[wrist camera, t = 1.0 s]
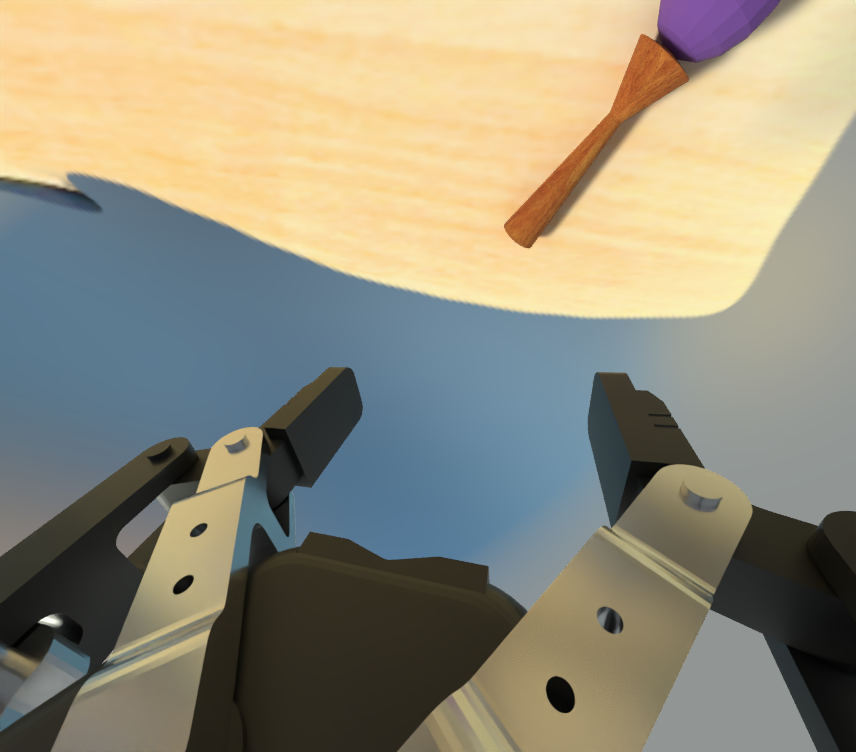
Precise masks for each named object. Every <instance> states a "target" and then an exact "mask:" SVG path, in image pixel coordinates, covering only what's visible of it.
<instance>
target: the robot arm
mask: <svg viewBox="0 0 856 752" xmlns="http://www.w3.org/2000/svg"><path fill="white" fill-rule="evenodd" d="M362 409H363V406H362V401H361V397H360V393H359V390H358V386H357V383H356V379H355V376H354V373H353V371H352V369H351V368H347V367H346V368H345V367H341V368H340V367H330V368H328V369H327V370H325V371H324V372H323V373H322V374H321V375H320V376H319V377H318V378H317V379H316V380H315V381H314V382H312V383H310V384H309V385H307V386H305V387H303V388H302V389H301V390H300V391H299V392H298V393H297V394H296V395H295V397H293V398H291V399H290V400H289V401H288V402H287V405H284V406H282V408H280V409H279V410H278V411H277V412H276V413H275V414H274V415H273V416H271V418H269V419H268V420H267V421H266V422H265V423H264V424H263V425H262V426H260V427H259V428H256V427H248V428H243V429H239V430H236V431H234V432H232V433H230V434H228V435H226V436H224V437H223V438H221V439H220V440H219V441H217V442H216V443H215V444H214V445H213V447H212V448H210V449H204V450H198V451H195V450H194V448H193V447H192V445H191V443H190V442H189V440H188V439H186V438H182V437H181V438H180V437H179V438H173V439H169V440H166V441H163V442H160V443H158V444H156V445H154V446H152V447H150V448H149V449H147V450H145V451H144V452H142V453H141V454H140V455H138V456H137V457H136V458H134V459H133V460H132V461H130V462H129V463H128V464H126V465H125V466H124V467H122V468H121V469H119V470H118V471H117V472H115V473H114V474H112V475H111V476H110V477H108V478H107V479H106V480H104V481H103V482H102V483H100V484H99V485H98V486H96V487H95V488H94V489H92V490H91V491H89V492H88V493H87V494H85V495H84V496H83V497H81V498H80V499H78V500H77V501H76V502H75V503H73V504H72V505H70V506H69V507H68V508H66V509H65V510H63V511H62V512H61V513H60V514H58V515H57V516H55V517H54V518H53V519H51V520H50V521H48V522H47V523H46V524H44V525H43V526H42V527H41V528H39V529H38V530H36V531H35V532H33V533H32V534H31V535H29V536H28V537H27V538H25V539H24V540H23V541H22V542H20V543H19V544H17V545H16V546H15V547H13V548H12V549H10V550H9V551H8V552H6V553H5V554H4V555H2V556H1V557H0V752H641V751H642V749H643V747H644V745H645V743H646V741H647V739H648V737H649V735H650V733H651V731H652V728H653V726H654V724H655V722H656V720H657V718H658V716H659V714H660V712H661V710H662V707H663V705H664V703H665V701H666V699H667V697H668V695H669V693H670V691H671V689H672V687H673V684H674V682H675V680H676V678H677V676H678V674H679V672H680V670H681V668H682V666H683V663H684V661H685V659H686V657H687V655H688V653H689V651H690V649H691V647H692V644H693V642H694V640H695V638H696V636H697V634H698V632H699V630H700V628H701V625H702V624H703V622H704V620H705V617H706V615H707V613H708V611H709V609H710V610H713V611H715V612H717V613H719V614H721V615H724V616H726V617H728V618H730V619H732V620H734V621H736V622H739V623H741V624H743V625H745V626H747V627H749V628H752V629H754V630H756V631H758V632H761V633H763V635H764V637H765V640H766V642H767V644H768V646H769V648H770V650H771V652H772V654H773V657H774V659H775V661H776V663H777V665H778V667H779V669H780V672H781V674H782V676H783V678H784V680H785V682H786V685H787V687H788V689H789V691H790V693H791V695H792V698H793V700H794V702H795V704H796V706H797V708H798V710H799V713H800V715H801V717H802V719H803V721H804V723H805V726H806V728H807V730H808V732H809V734H810V736H811V738H812V741H813V743H814V745H815V747H816V749H817V751H818V752H856V512H854V511H838V512H833V513H831V514H828V515H827V516H826V517H825V518H824V519H823V520H822V522H821V523H820V524H819V526H816V525H813V524H810V523H807V522H803V521H800V520H797V519H793V518H790V517H787V516H784V515H780V514H777V513H773V512H771V511H767V510H765V509H762V508H759V507H756V506H754V505H751V503H750V501H749V499H748V498H747V496H746V495H745V494H744V493H743V491H742V490H741V489H739V488H738V487H737V486H736V485H735V484H733V483H732V482H730V481H729V480H727V479H725V478H724V477H722V476H720V475H718V474H716V473H714V472H712V471H709V470H707V469H705V468H704V466H703V465H702V463H701V461H700V460H699V459H698V457H697V455H696V453H695V452H694V450H693V449H692V447H691V445H690V444H689V442H688V441H687V439H686V437H685V436H684V434H683V433H682V431H681V429H678V425H677V423H676V422H675V420H674V418H672V417H671V413H670V412H669V410H668V409H667V407H666V405H665V404H664V402H663V401H661V400H660V399H659V398H657V397H656V396H654V395H653V394H652V393H650V392H649V391H641V390H635V388H634V386H633V384H632V382H631V380H630V379H629V377H628V375H627V374H626V373H609V372H608V373H607V372H597V373H596V374H595V376H594V381H593V388H592V394H591V401H590V407H589V414H588V434H589V439H590V442H591V447H592V451H593V455H594V459H595V463H596V467H597V471H598V475H599V480H600V484H601V488H602V492H603V495H604V500H605V504H606V508H607V512H608V517H609V521H610V525H611V529H609V528H608V527H606V526H602V527H601V528H600V529H598V530H597V531H596V532H595V533H594V534H593V535H592V537H591V538H590V539H589V540H588V541H587V542H586V544H585V545H584V546H583V547H582V549H581V550H580V551H579V552H578V553H577V554H576V555H575V557H574V558H573V559H572V560H571V562H570V563H569V564H568V565H567V566H566V567H565V568H564V570H563V571H562V572H561V573H560V574H559V576H558V577H557V578H556V579H555V581H554V582H553V583H552V584H551V585H550V586H549V587H548V589H547V590H546V591H545V592H544V593H543V594H542V596H541V597H540V598H539V599H538V600H537V602H536V603H535V604H534V605H533V606H532V607H531V609H530V610H529V611H527V610H526V609H525V608H524V607H523V606H522V605H520V604H519V603H518V602H517V601H516V600H515V599H513V598H512V597H511V596H510V595H508V594H507V593H505V592H504V591H502V590H501V589H499V588H497V587H495V586H493V585H492V584H490V583H489V568H488V566H484V565H478V564H474V563H469V562H464V561H458V560H453V559H448V558H443V557H427V558H413V559H400V560H386V559H383V558H381V557H380V556H378V555H376V554H374V553H372V552H371V551H369V550H367V549H365V548H363V547H361V546H360V545H358V544H356V543H354V542H353V541H351V540H349V539H345V538H340V537H334V536H330V535H324V534H319V533H314V532H309V534H308V536H307V537H306V539H305V540H304V542H303V544H302V545H301V546H300V547H296V535H295V500H294V495H293V493H292V489H293V488H294V486H295V485H296V486H303V487H310V488H311V487H312V486H313V484H314V483H315V482H316V480H317V479H318V477H319V476H320V475H321V473H322V472H323V470H324V469H325V468H326V466H327V465H328V463H329V462H330V461H331V459H332V457H333V456H334V455H335V453H336V452H337V451H338V449H339V448H340V446H341V445H342V444H343V442H344V441H345V439H346V438H347V437H348V435H349V434H350V432H351V431H352V429H353V428H354V427H355V425H356V424H357V422H358V421H359V420H360V418H361V415H362ZM154 499H157V500H158V501H159V503H160V504H161V505H162V506H163V508H164V509H165V510H166V511H167V512H168V516H167V519H166V520H165V521H164V522H163V523H162V524H161V525H160V526H159V527H158V528H157V529H156V530H155V531H154V532H153V533H152V534H151V535H150V536H149V537H148V538H147V539H146V540H145V541H144V542H143V543H142V544H141V545H140V546H139V547H138V548H137V549H136V550H135V551H134V552H133V553H132V554H131V555H130V556H129V557H128V558H126V557H125V556H124V555H123V554H122V553H121V552H120V551H119V550H118V549H117V546H116V539H117V536H118V534H119V532H120V531H121V530H122V528H123V527H124V526H125V525H126V524H128V523H129V522H130V521H131V520H132V519H133V518H134V517H135V516H136V515H138V513H140V512H141V511H142V510H143V509H144V508H145V507H147V506H148V505H149V504H150V503H151V502H152V501H153V500H154ZM38 621H39V623H37V622H38ZM112 651H113V653H112V655H111V656H110V658H109V660H108V661H106V662H104V663H103V661H104V660H105V659H106V658H107V657H108V656H109V654H110V653H111V652H112ZM102 663H103V664H102Z"/></svg>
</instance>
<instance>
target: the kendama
mask: <svg viewBox="0 0 856 752" xmlns="http://www.w3.org/2000/svg"><path fill="white" fill-rule="evenodd" d="M779 1H780V0H661V2H660V9H659V16H658V23H657V26H658V31H659V35H660V38H661V42H662V45H661V44H659V43H658V42H656V41H654V40H653V39H651V38H649V37H648V36H646V35H644V34H641V35H640V38H639V40H638V43H637V45H636V48H635V51H634V53H633V56H632V58H631V61H630V63H629V66H628V68H627V71H626V73H625V76H624V78H623V81H622V83H621V86H620V88H619V91H618V93H617V96H616V98H615V101H614V103H613V106H612V108H611V111H610V113H609V114H608V115H607V116H606V117H605V118H604V119H603V120H602V121H601V122H600V124H599V125H598V126H597V127H596V128H595V129H594V130H593V131H592V132H591V133H590V134H589V135H588V136H587V137H586V138H585V139H584V141H583V142H582V143H581V144H580V145H579V146H578V147H577V148H576V149H575V150H574V151H573V152H572V153H571V154H570V155H569V156H568V157H567V159H566V160H565V161H564V162H563V163H562V164H561V165H560V166H559V167H558V168H557V169H556V170H555V171H554V172H553V173H552V174H551V176H550V177H549V178H548V179H547V180H546V181H545V182H544V183H543V184H542V185H541V186H540V187H539V188H538V189H537V190H536V191H535V192H534V194H533V195H532V196H531V197H530V198H529V199H528V200H527V201H526V202H525V203H524V204H523V205H522V206H521V207H520V208H519V209H518V211H517V212H516V213H515V214H514V215H513V216H512V217H511V218H510V219H509V220H508V221H507V222H506V223H505V224H504V228H505V230H506V232H507V234H508V235H509V236H510V237H511V238H512V239H513V240H514V241H515V242H516V243H518V244H519V245H520V246H522V247H525V248H530V247H532V245H533V244H534V242H535V241H536V240H537V238H538V237H539V235H540V234H541V233H542V231H543V230H544V229H545V227H546V226H547V224H548V223H549V222H550V220H551V219H552V218H553V216H554V215H555V213H556V212H557V211H558V209H559V208H560V206H561V205H562V204H563V202H564V201H565V200H566V198H567V197H568V195H569V194H570V193H571V191H572V190H573V188H574V187H575V186H576V184H577V183H578V182H579V180H580V179H581V177H582V176H583V175H584V173H585V172H586V171H587V169H588V168H589V166H590V165H591V164H592V162H593V161H594V159H595V158H596V157H597V155H598V154H599V153H600V151H601V150H602V148H603V147H604V146H605V144H606V143H607V142H608V140H609V139H610V137H611V136H612V135H613V133H614V132H615V130H616V129H617V128H618V126H619V125H620V124H621V123H622V122H623V121H625V120H626V119H628V118H630V117H631V116H633V115H634V114H636V113H638V112H639V111H641V110H643V109H644V108H646V107H647V106H649V105H651V104H652V103H654V102H655V101H657V100H659V99H660V98H662V97H663V96H665V95H667V94H668V93H670V92H671V91H673V90H675V89H676V88H678V87H680V86H681V85H683V84H684V83H686V82H688V80H689V78H688V76H687V74H686V73H685V71H684V70H683V68H682V67H681V65H680V63H679V62H678V60H684V61H689V62H695V63H696V62H700V61H703V60H707V59H710V58H714V57H717V56H720V55H722V54H723V53H725V52H726V51H728V50H730V49H731V48H733V47H734V46H736V45H737V44H739V43H740V42H742V41H743V40H745V39H746V38H747V37H748V36H749V35H750V34H751V33H752V32H753V31H754V30H755V29H756V28H757V27H758V26H759V25H760V24H761V23H762V22H763V21H764V19H765V18H766V17H767V16H768V15H769V14H770V13H771V12H772V11H773V10H774V8H775V7H776V6H777V5H778V3H779ZM677 59H678V60H677Z"/></svg>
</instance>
